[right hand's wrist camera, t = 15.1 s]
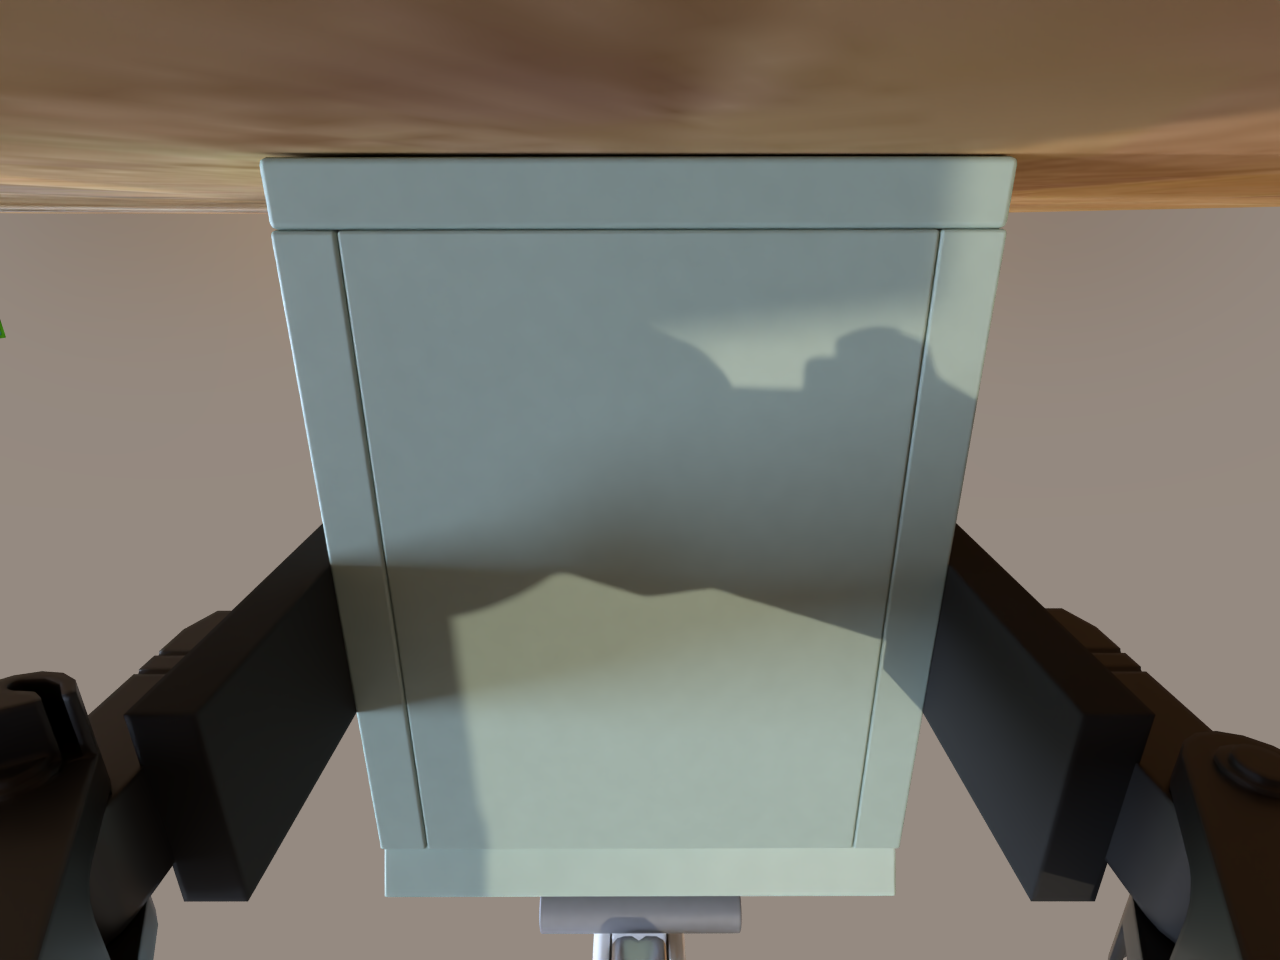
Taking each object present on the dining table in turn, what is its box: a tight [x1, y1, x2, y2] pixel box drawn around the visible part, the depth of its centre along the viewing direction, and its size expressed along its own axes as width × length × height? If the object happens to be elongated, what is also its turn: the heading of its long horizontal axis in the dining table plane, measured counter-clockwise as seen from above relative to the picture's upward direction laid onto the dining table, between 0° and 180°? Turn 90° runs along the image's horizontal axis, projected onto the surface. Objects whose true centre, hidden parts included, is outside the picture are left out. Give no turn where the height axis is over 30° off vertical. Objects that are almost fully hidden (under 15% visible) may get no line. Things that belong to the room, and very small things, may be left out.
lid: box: [385, 845, 895, 934], centre depth 19 cm, size 14×9×9 cm, turn 1°
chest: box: [260, 156, 1017, 849], centre depth 17 cm, size 13×9×11 cm
